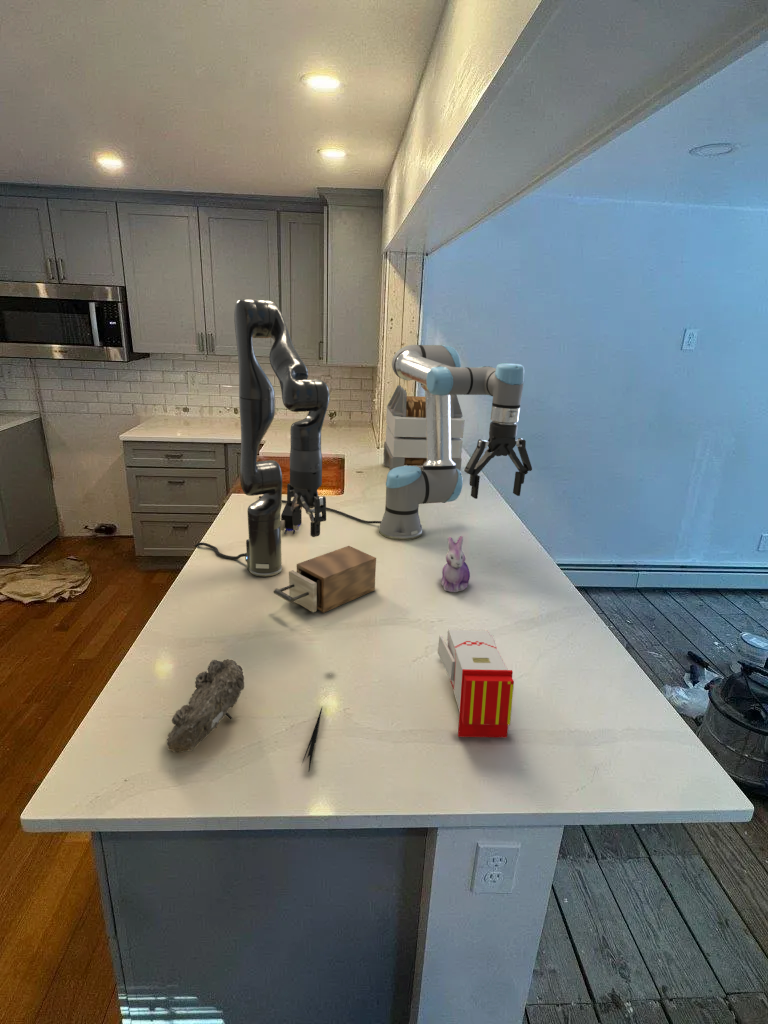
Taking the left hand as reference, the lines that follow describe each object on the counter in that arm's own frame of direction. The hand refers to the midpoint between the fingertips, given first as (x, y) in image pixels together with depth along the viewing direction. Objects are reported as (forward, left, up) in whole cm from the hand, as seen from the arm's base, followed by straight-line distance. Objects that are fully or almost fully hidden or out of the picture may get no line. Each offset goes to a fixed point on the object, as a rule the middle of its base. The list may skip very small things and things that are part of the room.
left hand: (305, 530), depth 138 cm
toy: (+48, -6, -23) cm, 53 cm away
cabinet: (+1, +13, -23) cm, 26 cm away
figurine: (+26, +36, -23) cm, 50 cm away
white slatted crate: (-37, +136, -23) cm, 143 cm away
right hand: (+31, +48, +3) cm, 57 cm away
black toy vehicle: (-40, +43, -23) cm, 63 cm away
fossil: (+9, -41, -23) cm, 48 cm away
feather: (+27, -31, -23) cm, 47 cm away
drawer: (-1, +6, -22) cm, 23 cm away
